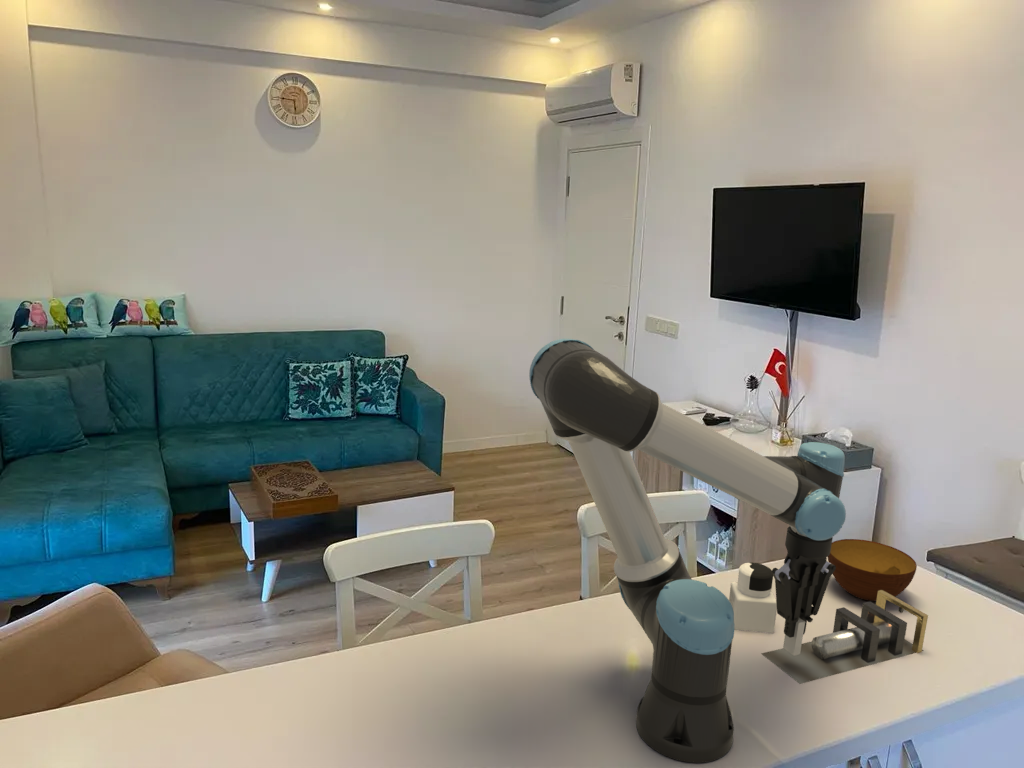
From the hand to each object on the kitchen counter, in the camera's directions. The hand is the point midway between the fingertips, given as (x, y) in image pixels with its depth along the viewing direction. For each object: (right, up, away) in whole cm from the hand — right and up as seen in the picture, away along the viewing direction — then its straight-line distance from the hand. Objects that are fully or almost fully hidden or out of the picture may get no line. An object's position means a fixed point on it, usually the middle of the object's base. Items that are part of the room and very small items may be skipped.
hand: (791, 650), depth 136 cm
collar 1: (+14, -2, +7) cm, 16 cm away
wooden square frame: (+25, -2, +11) cm, 27 cm away
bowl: (+27, +1, +29) cm, 40 cm away
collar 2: (+21, -2, +9) cm, 23 cm away
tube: (+16, -2, +7) cm, 17 cm away
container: (-3, -1, +16) cm, 16 cm away
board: (+12, -3, +6) cm, 14 cm away
